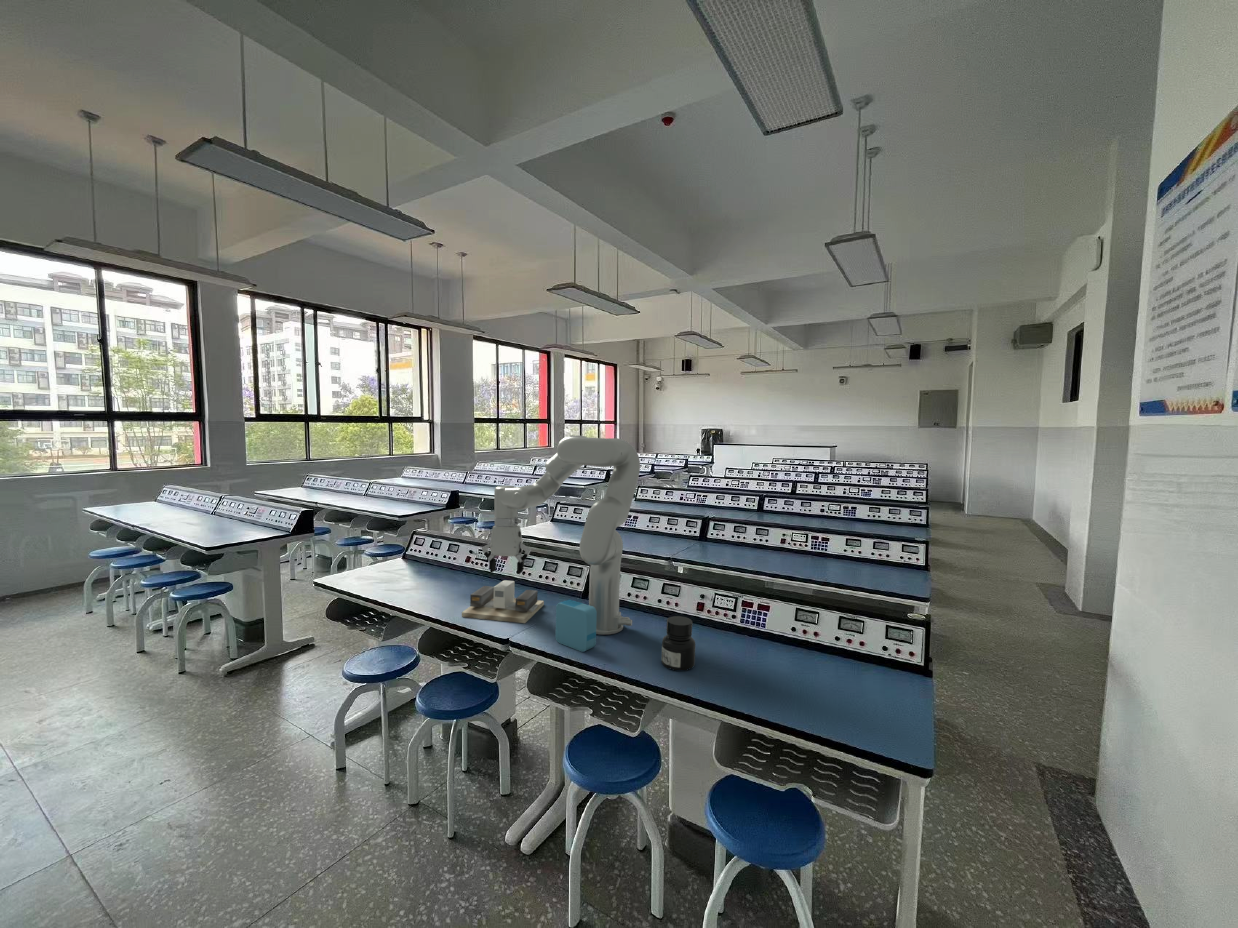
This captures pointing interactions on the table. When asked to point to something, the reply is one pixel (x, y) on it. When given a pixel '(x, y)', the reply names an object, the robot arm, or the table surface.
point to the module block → (504, 594)
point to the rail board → (514, 612)
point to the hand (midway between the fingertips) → (506, 572)
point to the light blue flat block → (576, 625)
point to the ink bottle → (678, 644)
